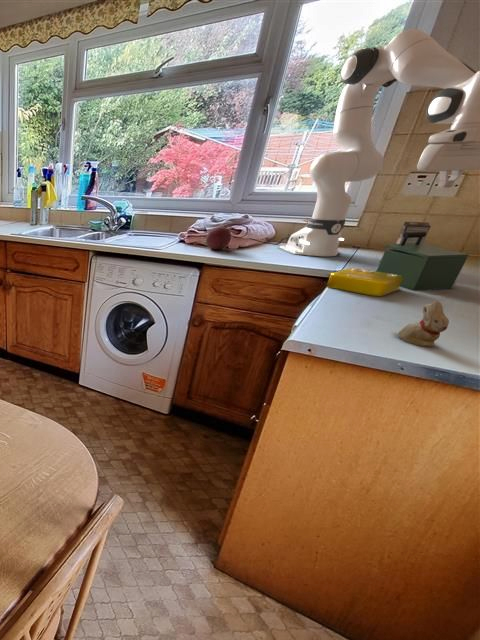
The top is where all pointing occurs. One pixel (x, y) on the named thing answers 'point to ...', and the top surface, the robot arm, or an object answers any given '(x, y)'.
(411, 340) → the chocolate bunny
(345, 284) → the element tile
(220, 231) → the decorative ball
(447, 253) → the lid
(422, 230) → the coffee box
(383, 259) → the green hinged box
